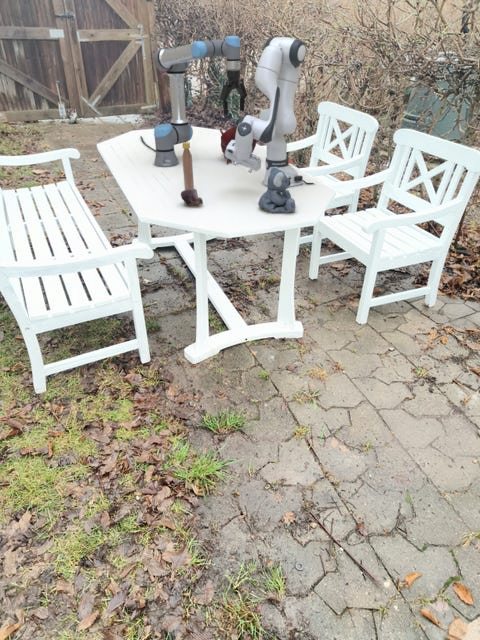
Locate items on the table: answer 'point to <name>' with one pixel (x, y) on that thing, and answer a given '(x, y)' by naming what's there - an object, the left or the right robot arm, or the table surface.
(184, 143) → the cap
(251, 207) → the table surface
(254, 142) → the decorative skull
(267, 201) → the koala plush
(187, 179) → the bottle
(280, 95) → the right robot arm
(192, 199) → the rock
